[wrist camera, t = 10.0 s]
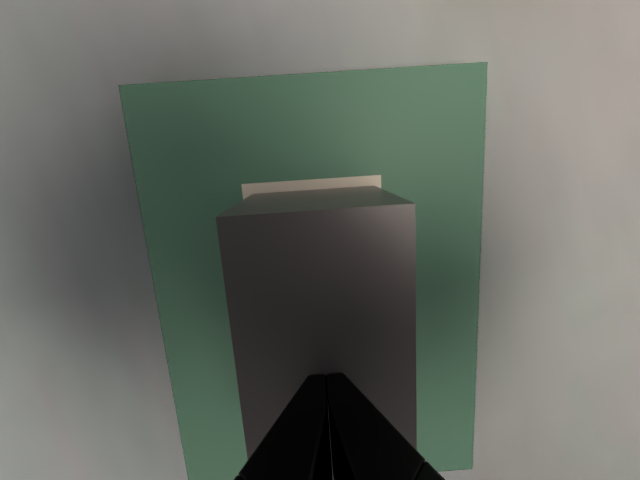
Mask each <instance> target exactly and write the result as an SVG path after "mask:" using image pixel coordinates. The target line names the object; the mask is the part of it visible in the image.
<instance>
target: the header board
mask: <svg viewBox="0 0 640 480" xmlns="http://www.w3.org/2000/svg"><path fill="white" fill-rule="evenodd" d="M487 64H488V62H479V63H463V64H447V65H431V66H416V67H400V68H384V69H368V70H352V71H337V72H321V73H305V74H289V75H273V76H258V77H242V78H226V79H210V80H194V81H178V82H163V83H147V84H131V85H118V86H119V91H120V97H121V103H122V108H123V114H124V120H125V125H126V131H127V136H128V142H129V148H130V153H131V159H132V165H133V170H134V176H135V182H136V187H137V193H138V199H139V204H140V210H141V215H142V221H143V227H144V232H145V238H146V244H147V249H148V255H149V261H150V266H151V272H152V277H153V283H154V289H155V294H156V300H157V306H158V311H159V317H160V323H161V328H162V334H163V340H164V345H165V351H166V356H167V362H168V368H169V373H170V379H171V385H172V390H173V396H174V402H175V407H176V413H177V419H178V424H179V430H180V435H181V441H182V447H183V452H184V458H185V464H186V469H187V475H188V480H234V478H235V477H236V476H238V474H239V472H240V470H241V469H242V468H243V466H244V465H245V463H246V462H247V461H248V459H247V451H246V444H245V436H244V429H243V421H242V414H241V406H240V398H239V391H238V383H237V376H236V368H235V361H234V353H233V346H232V338H231V330H230V323H229V315H228V308H227V300H226V293H225V285H224V278H223V270H222V262H221V255H220V247H219V240H218V232H217V225H216V216H218V215H220V214H221V213H223V212H224V211H226V210H228V209H229V208H231V207H232V206H234V205H236V204H237V203H239V202H240V201H242V200H244V199H245V198H247V197H248V196H250V195H252V194H257V193H272V192H286V191H301V190H316V189H330V188H345V187H359V186H377V187H379V188H381V189H383V190H386V191H388V192H390V193H393V194H395V195H397V196H400V197H402V198H404V199H406V200H409V201H411V202H413V203H415V234H416V394H417V451H418V452H419V453H420V454H421V455H422V456H423V457H424V458H425V461H427V462H429V463H430V464H431V466H432V467H433V468H434V469H435V470H436V471H437V472H439V471H452V470H465V469H472V467H473V440H474V413H475V386H476V359H477V332H478V305H479V279H480V252H481V225H482V198H483V171H484V144H485V117H486V90H487Z"/></svg>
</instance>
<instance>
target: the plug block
mask: <svg viewBox="0 0 640 480" xmlns="http://www.w3.org/2000/svg"><path fill="white" fill-rule="evenodd" d="M216 225H217V232H218V240H219V247H220V255H221V262H222V270H223V278H224V285H225V293H226V300H227V308H228V315H229V323H230V330H231V338H232V346H233V353H234V361H235V368H236V376H237V383H238V391H239V398H240V406H241V414H242V421H243V429H244V436H245V444H246V451H247V459H249V458H250V456H251V455H252V453H253V452H254V451H255V449H256V448H257V446H258V445H259V444H260V442H261V441H262V439H263V438H264V437H265V435H266V434H267V432H268V431H269V430H270V428H271V427H272V425H273V424H274V423H275V421H276V420H277V418H278V417H279V415H280V414H281V413H282V411H283V410H284V408H285V407H286V406H287V404H288V403H289V401H290V400H291V399H292V397H293V396H294V394H295V393H296V392H297V390H298V389H299V387H300V386H301V385H302V383H303V382H304V380H305V379H306V378H307V376H308V375H315V374H324V375H325V376H326V375H327V374H329V373H344V374H345V375H346V376H347V377H348V378H349V379H350V380H351V381H352V382H353V383H354V384H355V385H356V387H357V388H358V389H359V390H360V391H361V392H362V393H363V394H364V395H365V396H366V397H367V398H368V399H369V400H370V401H371V402H372V403H373V405H374V406H375V407H376V408H377V409H378V410H379V411H380V412H381V413H382V414H383V415H384V416H385V417H386V418H387V419H388V420H389V421H390V422H391V424H392V425H393V426H394V427H395V428H396V429H397V430H398V431H399V432H400V433H401V434H402V435H403V436H404V437H405V438H406V439H407V440H408V441H409V443H410V444H411V445H412V446H413V447H414V448H415V449H416V450H417V394H416V234H415V203H413V202H411V201H409V200H406V199H404V198H402V197H400V196H397V195H395V194H393V193H390V192H388V191H386V190H383V189H381V188H379V187H377V186H359V187H345V188H330V189H316V190H301V191H286V192H272V193H257V194H252V195H250V196H248V197H247V198H245V199H244V200H242V201H240V202H239V203H237V204H236V205H234V206H232V207H231V208H229V209H228V210H226V211H224V212H223V213H221V214H220V215H218V216H216ZM326 386H327V383H326ZM327 401H328V398H327ZM328 416H329V412H328ZM329 430H330V427H329ZM330 445H331V441H330ZM331 459H332V456H331ZM332 478H333V470H332Z"/></svg>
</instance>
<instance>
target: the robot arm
mask: <svg viewBox="0 0 640 480" xmlns="http://www.w3.org/2000/svg"><path fill="white" fill-rule="evenodd" d="M326 383H327V386H326ZM327 398H328V401H327ZM328 412H329V416H328ZM329 427H330V430H329ZM330 441H331V445H330ZM331 456H332V459H331ZM332 470H333V478H332ZM234 480H445V479H444V478H443V477H442V476H441V475H440V474H439V473H438V472H437V471H436V470H435V469H434V468H433V467H432V466H431V464H430V463H429V462H427V461H425V458H424V457H423V456H422V455H421V454H420V453H419V452H418V451H417V450H416V449H415V448H414V447H413V446H412V445H411V444H410V443H409V441H408V440H407V439H406V438H405V437H404V436H403V435H402V434H401V433H400V432H399V431H398V430H397V429H396V428H395V427H394V426H393V425H392V424H391V422H390V421H389V420H388V419H387V418H386V417H385V416H384V415H383V414H382V413H381V412H380V411H379V410H378V409H377V408H376V407H375V406H374V405H373V403H372V402H371V401H370V400H369V399H368V398H367V397H366V396H365V395H364V394H363V393H362V392H361V391H360V390H359V389H358V388H357V387H356V385H355V384H354V383H353V382H352V381H351V380H350V379H349V378H348V377H347V376H346V375H345V374H344V373H329V374H327V375H326V376H325V375H324V374H315V375H308V376H307V378H306V379H305V380H304V382H303V383H302V385H301V386H300V387H299V389H298V390H297V392H296V393H295V394H294V396H293V397H292V399H291V400H290V401H289V403H288V404H287V406H286V407H285V408H284V410H283V411H282V413H281V414H280V415H279V417H278V418H277V420H276V421H275V423H274V424H273V425H272V427H271V428H270V430H269V431H268V432H267V434H266V435H265V437H264V438H263V439H262V441H261V442H260V444H259V445H258V446H257V448H256V449H255V451H254V452H253V453H252V455H251V456H250V458H249V459H248V461H247V462H246V463H245V465H244V466H243V468H242V469H241V470H240V472H239V474H238V476H236V477H235V478H234Z"/></svg>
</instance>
